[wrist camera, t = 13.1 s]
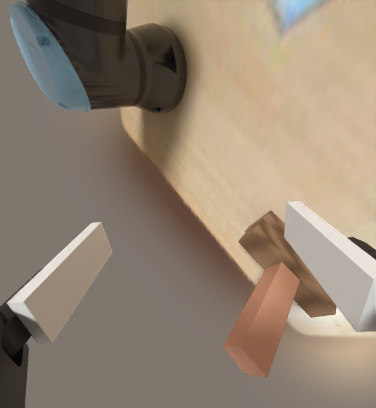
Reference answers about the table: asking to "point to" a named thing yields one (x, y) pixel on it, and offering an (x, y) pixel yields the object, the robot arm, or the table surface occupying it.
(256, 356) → the rod
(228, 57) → the table surface
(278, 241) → the brown wooden block
